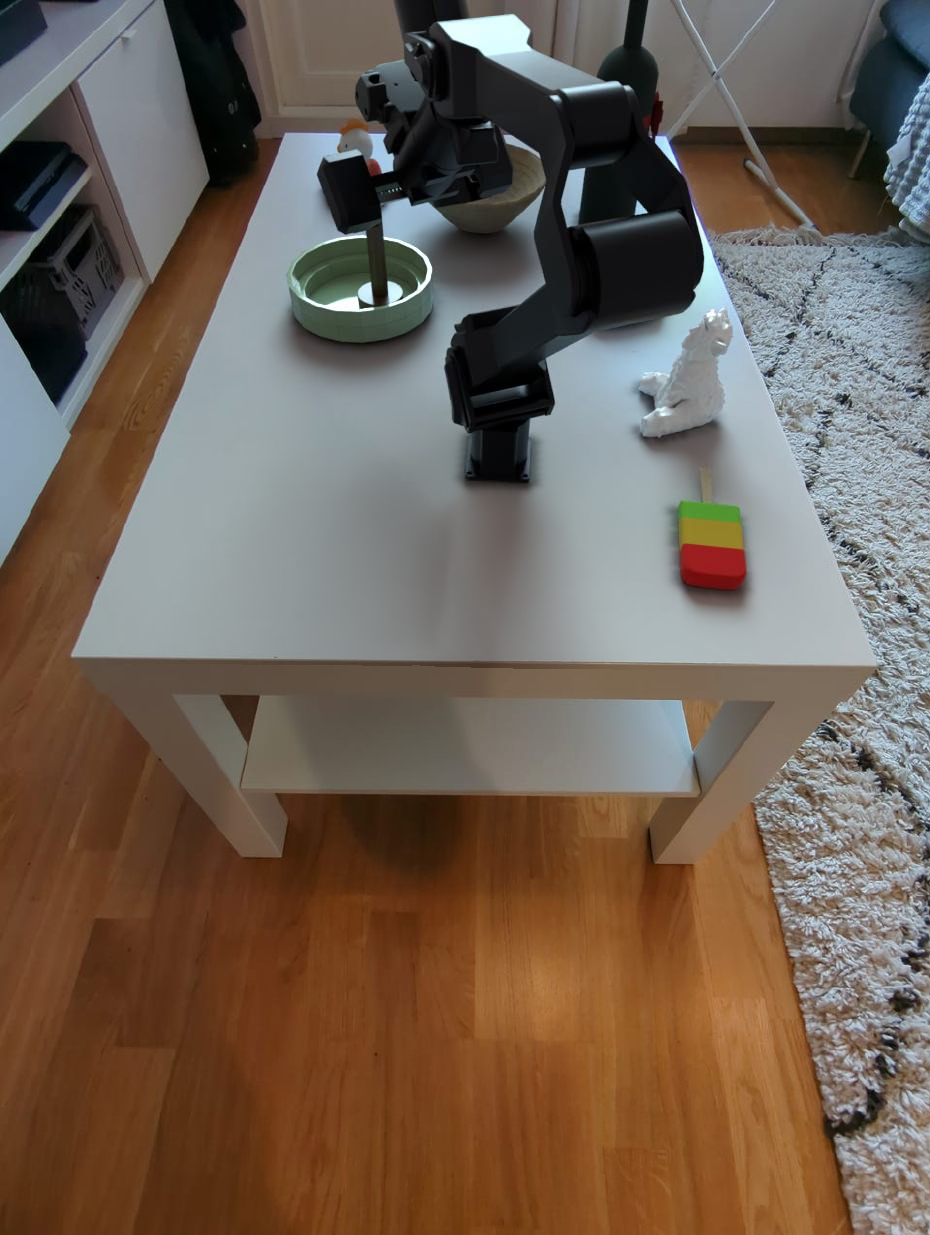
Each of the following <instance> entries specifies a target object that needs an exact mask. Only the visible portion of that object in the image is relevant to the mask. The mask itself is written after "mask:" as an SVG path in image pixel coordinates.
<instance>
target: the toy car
mask: <svg viewBox="0 0 930 1235" xmlns="http://www.w3.org/2000/svg"><path fill="white" fill-rule="evenodd" d="M368 131H369V124H368V122H362V120H361V119H360V118H359V117H352V118H350V119H349V120H348V121H347V122H346V125H343V126H341V127H340V129H339V133H340V138H339V143H338V145H337V146H336V151H337V153H343V152H347V151H351V150H356V149H357V150H358V151H360V152H361V153H362V154H363V156H364V159H365V161H366V164H367V167H368V170H369V173H370V175H371V176H374V175H378V174H382V173H383V172H382V169H381V166H380V164H379V162H378V161H377V159H375V158H371V157H372V155H373V151H374V143H373V139H372V137H371V135H370V134H369V132H368ZM385 193H386V191H385ZM381 194H382V192H381Z"/></svg>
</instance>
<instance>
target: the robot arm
mask: <svg viewBox="0 0 930 1235" xmlns="http://www.w3.org/2000/svg"><path fill="white" fill-rule="evenodd" d="M393 4H394V8H395V9H394V10H395V13H396V17H397V21H398V25H399V29H400V35H401V39H402V43H403V59H400V60H396V61H395V60H394V61H391V62H385V63H380V64H377V65H376V66H375V67H374V68H373V69H369V70H365V72H364V74H361V75H360V76H359V78H358V80H357V82H356V84H355V87H354V88H355V89H354V100H355V104H356V106H357V108H358V110H359V112H360V114H361V115H362V117H363V120H364V121H365V123H371V122H378V123H379V125H383V128H384V129H385V130H386V133H385V136H384V137H383V140H382V142H383V145H384V148H385V150H386V153H387V155H392V156H393V159H392V170H391V171H387V172H382V174H378V175H374V176H371V175H370V173H369V170H368V167H367V164H366V161H365V159H364V156H363V154H362V153H361V152H360V151H358V150H357V149H356V150H351V151H347V152H343V153H339V152H337V153H333V154H330V155H326V156H323V157H322V159H321V161H320V164H319V167H318V170H317V172H316V177H317V179H318V182H319V184H320V187H321V190H322V192H323V196H324V198H325V201H326V203H327V206H328V209H329V211H330V214H331V216H332V219H333V222H334V225H335V227H336V230H337V231H338V232H340V233H341V234H343V235H344V236H348V235H351V234H358V233H362V232H366V230H370V229H373V228H377V227H378V223H380V221H381V219H382V220H383V211H382V212H381V210H382V206H384V205H388V204H392V203H395V202H399V201H402V200H407V199H408V201H409V204H410V207H416V206H419V205H424V204H426V203H429V202H431V201H432V202H433V205H434V207H435V208H440V207H446V206H452V205H458V204H464V203H470V202H474V201H478V200H482V199H486V198H489V197H492V196H493V195H497V194H501V193H504V192H505V191H506V190H507V189H508V188H509V187H510V186H511V185H512V183H513V180H514V166H513V163H512V160H511V157H510V154H509V151H508V147H507V144H508V143H507V141H506V138H505V135H504V133H503V131H505V132H506V133H507V134H509V135H510V136H512V137H513V138H515V139H516V140H518V141H519V142H521V143H522V144H523V145H526V146H527V147H529V148H530V149H532V150H533V151H535V152H536V153H538V155H539V158H540V159H541V162H542V166H543V170H544V174H545V178H546V185H545V187H544V189H543V191H542V197H541V201H540V204H539V209H538V213H537V216H536V219H535V225H534V228H533V241H534V245H535V249H536V252H537V256H538V257H537V258H538V261H539V264H540V268H541V271H542V276H543V279H544V284H543V285H542V286H540V287H539V288H538V289H537V290H536V291H534V292H533V293H532V294H531V295H529V297H527V298H526V299H525V300H523V301H522V302H520V303H518V304H513V305H508V306H503V307H497V308H492V309H487V310H483V311H477V312H471V313H468V314H466V315H465V316H464V317H462V319H461V321H460V322H459V323H455V324H453V328H454V331H455V333H453V335H452V337H451V340H450V347H447V349H446V355H445V357H444V361H445V364H444V366H443V370H444V375H445V380H446V385H447V389H448V390H447V391H448V394H449V400H450V406H451V420H452V422H453V424H455V425H458V426H461V427H463V428H464V430H465V431H466V432H465V433H466V434H468V436H467V446H466V448H467V449H466V454H465V455H466V457H465V467H464V478H465V479H466V480H469V481H486V482H487V481H488V482H506V483H529V482H531V467H532V466H531V464H532V463H531V462H532V437H530V426H531V419H534V418H539V417H542V416H545V417H547V416H551V415H552V413H553V410H554V408H555V404H556V399H555V395H554V390H553V385H552V380H551V377H550V372H549V367H548V362H547V358H549V357H551V356H553V355H554V354H557V353H559V352H560V351H562V350H564V349H566V348H568V347H570V346H571V345H574V344H575V343H577V342H579V341H580V340H583V339H584V338H587V337H588V336H590V335H592V334H594V333H595V332H600V331H604V330H609V329H613V328H618V327H625V326H630V325H629V324H631V325H634V324H633V323H636V324H639V323H642V322H647V321H652V320H657V319H662V318H666V317H672V316H677V315H681V314H683V313H684V312H686V311H687V310H688V309H689V308H690V307H691V306H692V304H693V302H694V300H695V299H696V297H697V293H696V291H695V290H696V288H697V287H698V285H699V284H700V283H701V280H702V278H703V274H704V270H705V253H704V252H705V250H704V245H703V241H702V236H701V233H700V229H699V225H698V222H697V218H696V213H695V209H694V206H693V201H692V198H691V194H690V190H689V186H688V182H687V180H686V178H685V176H684V175H683V174H682V172H681V171H679V169H678V167H677V166H675V164H674V163H673V162H672V160H670V158H669V157H668V156H667V155H666V154H665V152H664V151H663V150H662V149H661V148H660V146H658V144H657V143H656V141H655V142H654V141H653V139H652V136H650V134H648V133H647V132H646V130H645V126H644V122H643V118H642V114H641V110H640V106H639V102H638V99H637V97H636V94H635V92H634V90H633V89H632V88H631V87H630V86H629V85H626V86H622V85H621V84H620V83H619V82H618V81H610V82H605V81H603V80H601V79H598V78H597V76H594V75H591V74H589V73H587V72H585V71H583V70H580V69H578V68H575V67H573V66H571V65H569V64H566V63H565V62H561V61H559V60H557V59H555V58H552V57H550V56H549V55H546V54H543V53H542V52H539V51H537V50H535V49H534V33H533V32H532V30H531V28H529V27H528V26H527V25H526V24H525V23H524V22H523V21H522V20H521V19H520V18H519V17H518V15H515V14H514V13H507V14H498V15H490V16H480V17H471V15H470V9H469V5H468V0H393ZM506 143H507V144H506ZM607 164H611V165H612V169H613V171H614V173H615V175H616V176H617V177H618V178H619V180H620V181H621V182H622V183H623V184H624V185H625V187H626V188H627V189H628V190H629V191H630V192H631V194H632V195H633V196H634V197H635V198H636V199H637V203H639V204H640V206H641V207H642V208H643V209H644V210H645V211H646V212H644V213H638V214H635V215H632V216H627V217H621V218H615V219H610V220H604V221H598V222H593V223H587V224H581V225H579V224H576V225H571V226H568V224H567V221H566V217H565V213H564V210H563V205H562V200H563V197H564V192H565V188H566V184H567V181H568V176H569V172H570V171H574V170H581V169H585V168H588V167H594V166H601V165H607ZM385 191H386V193H385ZM381 192H382V194H381ZM377 193H379V194H378V195H377ZM434 207H433V208H434ZM435 208H434V209H435ZM638 322H639V323H638ZM624 325H625V326H624Z"/></svg>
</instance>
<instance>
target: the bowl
mask: <svg viewBox="0 0 930 1235" xmlns="http://www.w3.org/2000/svg"><path fill="white" fill-rule="evenodd" d="M506 144H507V147H508V151H509V154H510V157H511V160H512V163H513V166H514V180H513V183H512V185H511V186H510V187H509V188H508V189H507V190H506V191H505V192H504V193H501V194H497V195H493V196H492V197H489V198H486V199H482V200H478V201H474V202H470V203H464V204H458V205H452V206H446V207H440V208H435V207H434V205H433V202H432V201H431V202H428V204H430V205H431V206H432V207H433V208H434V209H435V210H436V211H437V212H438V213H439V214H441V215H442V217H443V218H444V219H445V220H446V221H448V222H449V223H450V224H452V225H453V226H455V227H457V228H458V229H461V230H463V231H465V232H469V233H474V234H492V233H496V232H499V231H501V230H502V229H504V228H506V227H507V226H508V225H510V224H511V223H512V222H514V220H515V219H517V217H519V215H521V214H522V213H523V212H524V211H525V210H526V209H527V208H528V207H529V206H530V205H532V204H533V203H534V202H535V201H536V200H537V199H538V197H539V196H540V195H541V194H542V193H543V191H544V188H545V185H546V178H545V174H544V170H543V166H542V162H541V159H540V156H538V155H537V154H535V153H534V152H532V151H530V150H529V149H526V148H523V147H521V146H517V145H514V144H511V143H507V142H506Z"/></svg>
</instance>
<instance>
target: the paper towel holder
mask: <svg viewBox="0 0 930 1235" xmlns="http://www.w3.org/2000/svg"><path fill="white" fill-rule="evenodd" d="M378 194H379V193H377V195H378ZM381 212H382V213H383V211H382V209H381ZM383 223H384V222H383V218H382V219H381V221H380V223H378V227H377V228H373V229H370V230H366V231H365V236H366V239H367V249H368V259H369V268H370V278H371V282H369V283H367V284H365V285H363V286H362V287H360V289H359V290H358V293H357V296H358V304H359V306H360V307H361V308H362V309H365V308H373V307H380V306H385V305H388V304H391V303H394V302H397V301H400V300H402V299H404V297H403V290H402V288H401V287H400V286H399V285H398V284H396V283H394V282H390V281H387V269H386V258H385V246H384V237H385V236H384V224H383Z"/></svg>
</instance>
